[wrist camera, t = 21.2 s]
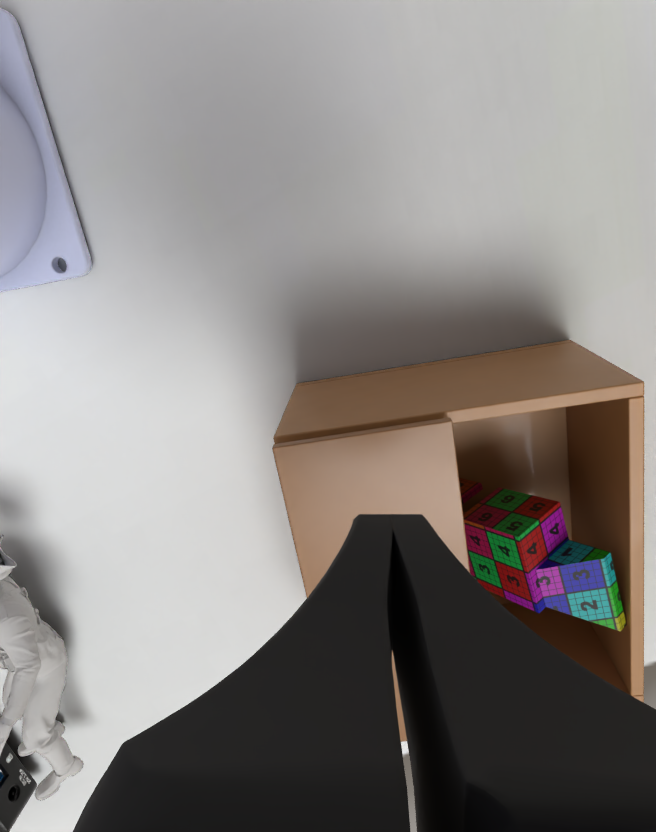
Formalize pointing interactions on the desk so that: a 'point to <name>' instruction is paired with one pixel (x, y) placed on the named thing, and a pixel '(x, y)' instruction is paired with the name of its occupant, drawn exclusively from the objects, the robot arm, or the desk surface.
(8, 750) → the multiport hub
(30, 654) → the soldier figure
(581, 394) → the carton
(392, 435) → the flap
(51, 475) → the desk surface
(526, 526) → the block
